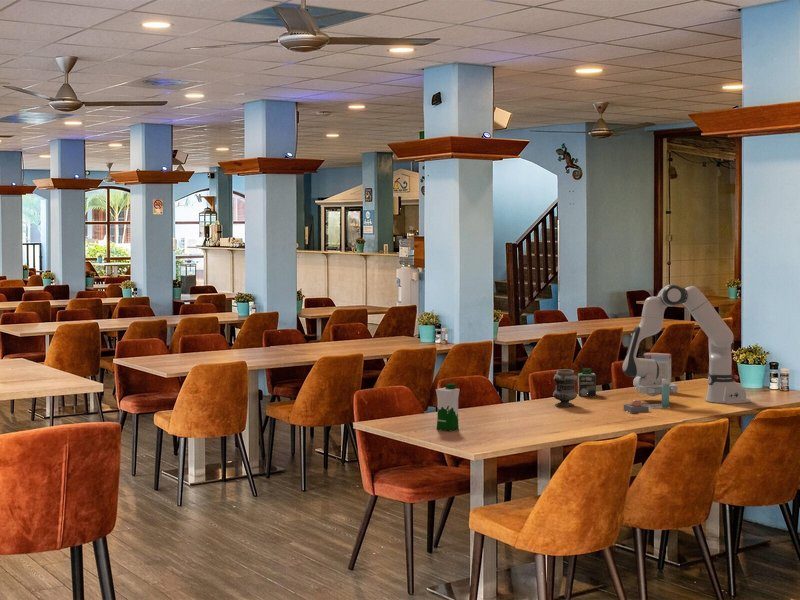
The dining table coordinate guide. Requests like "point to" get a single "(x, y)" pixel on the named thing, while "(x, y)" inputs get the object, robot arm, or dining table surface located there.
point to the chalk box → (586, 383)
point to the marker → (665, 393)
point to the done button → (636, 403)
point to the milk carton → (447, 407)
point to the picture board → (654, 406)
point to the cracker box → (661, 364)
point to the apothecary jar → (565, 387)
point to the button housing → (636, 408)
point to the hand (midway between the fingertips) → (663, 391)
